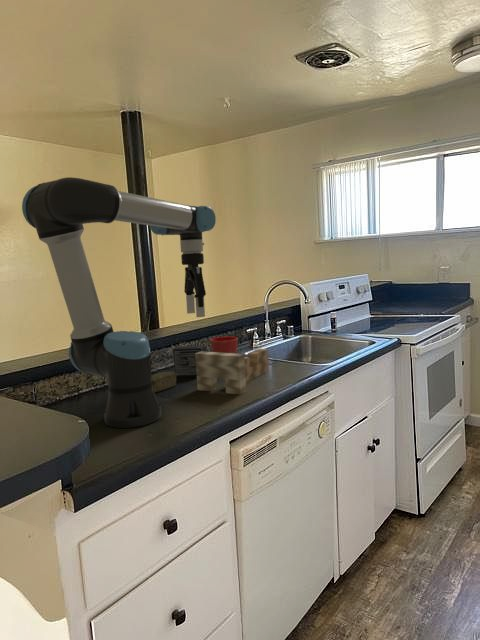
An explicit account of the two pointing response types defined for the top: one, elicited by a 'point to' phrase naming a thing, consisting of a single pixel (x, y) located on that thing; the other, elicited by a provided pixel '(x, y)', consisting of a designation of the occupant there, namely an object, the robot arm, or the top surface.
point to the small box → (186, 360)
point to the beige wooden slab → (221, 371)
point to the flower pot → (224, 344)
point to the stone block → (163, 381)
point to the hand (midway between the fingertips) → (195, 315)
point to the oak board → (256, 363)
